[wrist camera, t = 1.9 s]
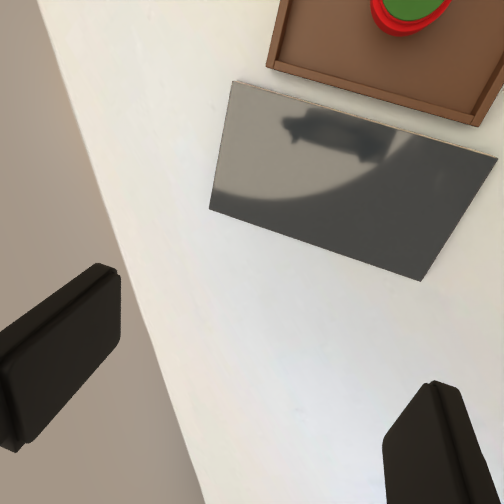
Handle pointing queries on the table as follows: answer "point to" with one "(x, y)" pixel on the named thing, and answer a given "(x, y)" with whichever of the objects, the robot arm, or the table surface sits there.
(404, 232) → the board
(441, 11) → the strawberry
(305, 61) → the tray
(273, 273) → the table surface
